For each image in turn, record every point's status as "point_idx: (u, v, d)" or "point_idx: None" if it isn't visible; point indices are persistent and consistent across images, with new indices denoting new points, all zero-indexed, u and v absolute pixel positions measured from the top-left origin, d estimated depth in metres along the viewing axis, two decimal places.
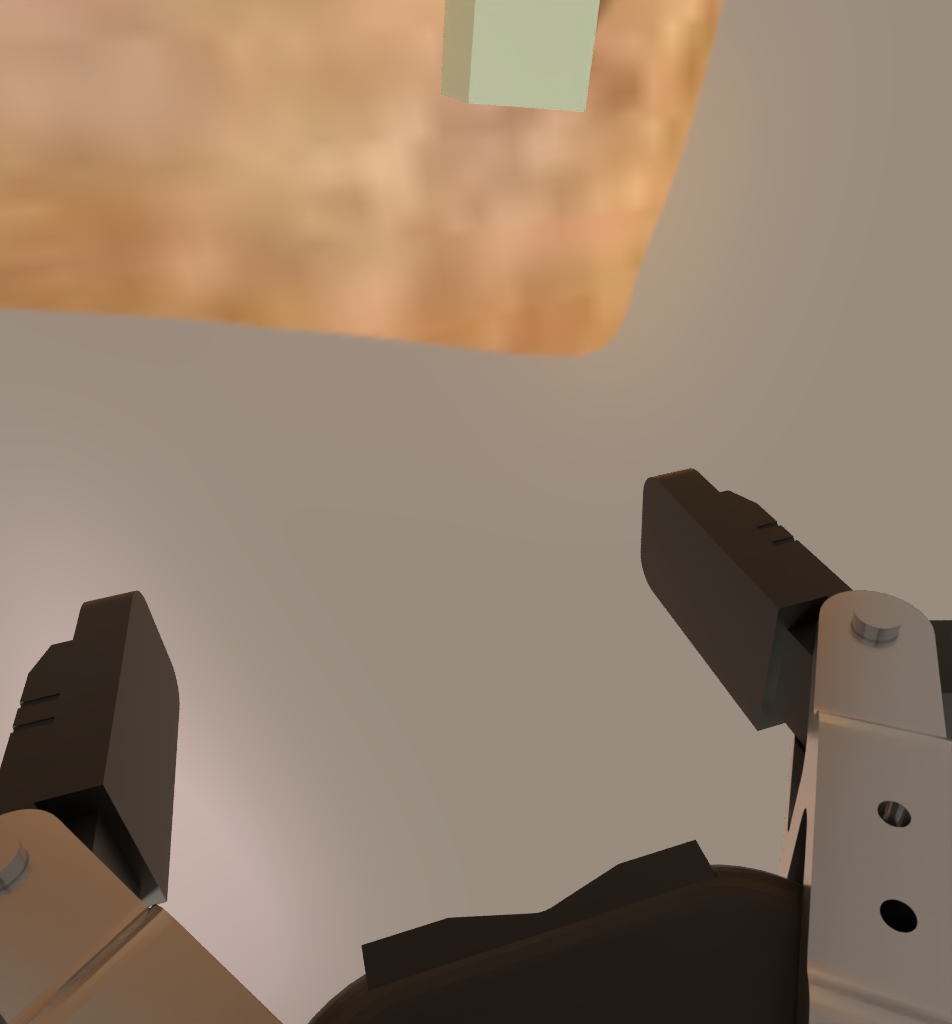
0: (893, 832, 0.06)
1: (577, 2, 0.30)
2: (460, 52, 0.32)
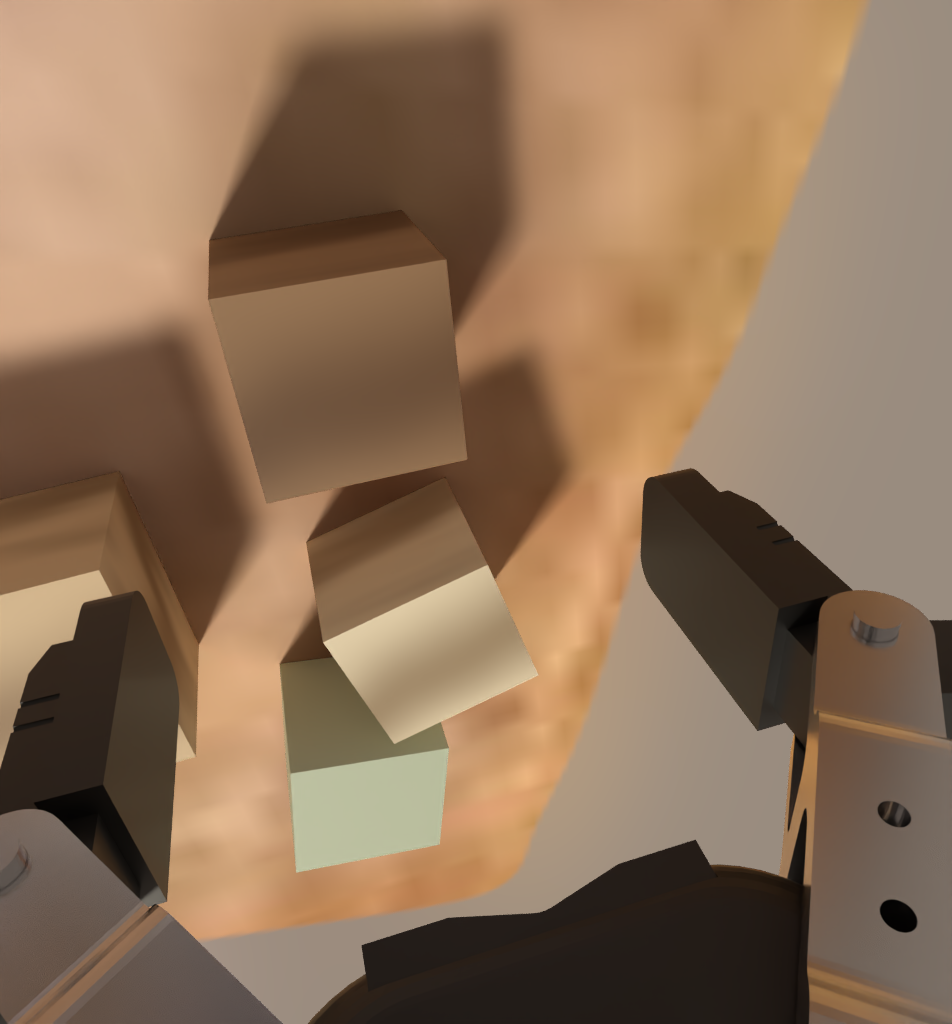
0: (893, 833, 0.06)
1: (419, 779, 0.26)
2: None
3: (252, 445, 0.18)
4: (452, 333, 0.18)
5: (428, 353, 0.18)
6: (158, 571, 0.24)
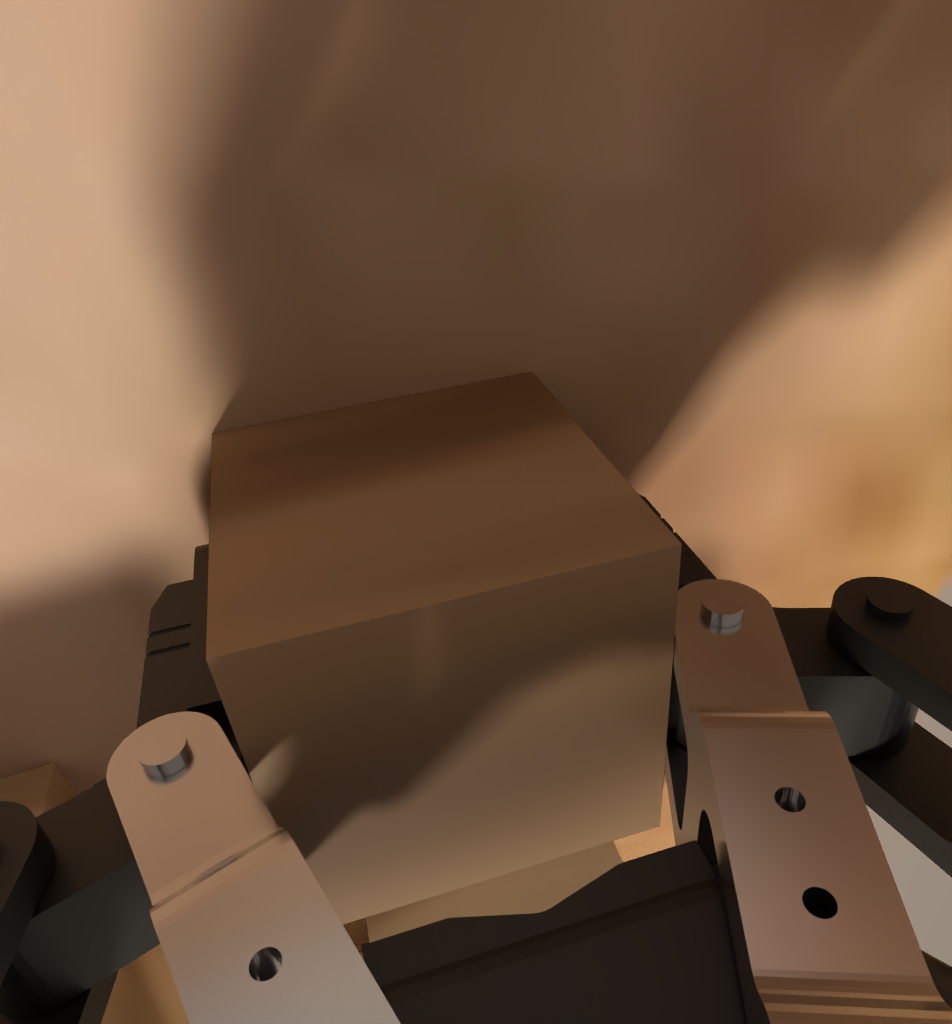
0: (792, 818, 0.07)
1: None
2: None
3: None
4: (670, 657, 0.09)
5: (623, 691, 0.09)
6: None
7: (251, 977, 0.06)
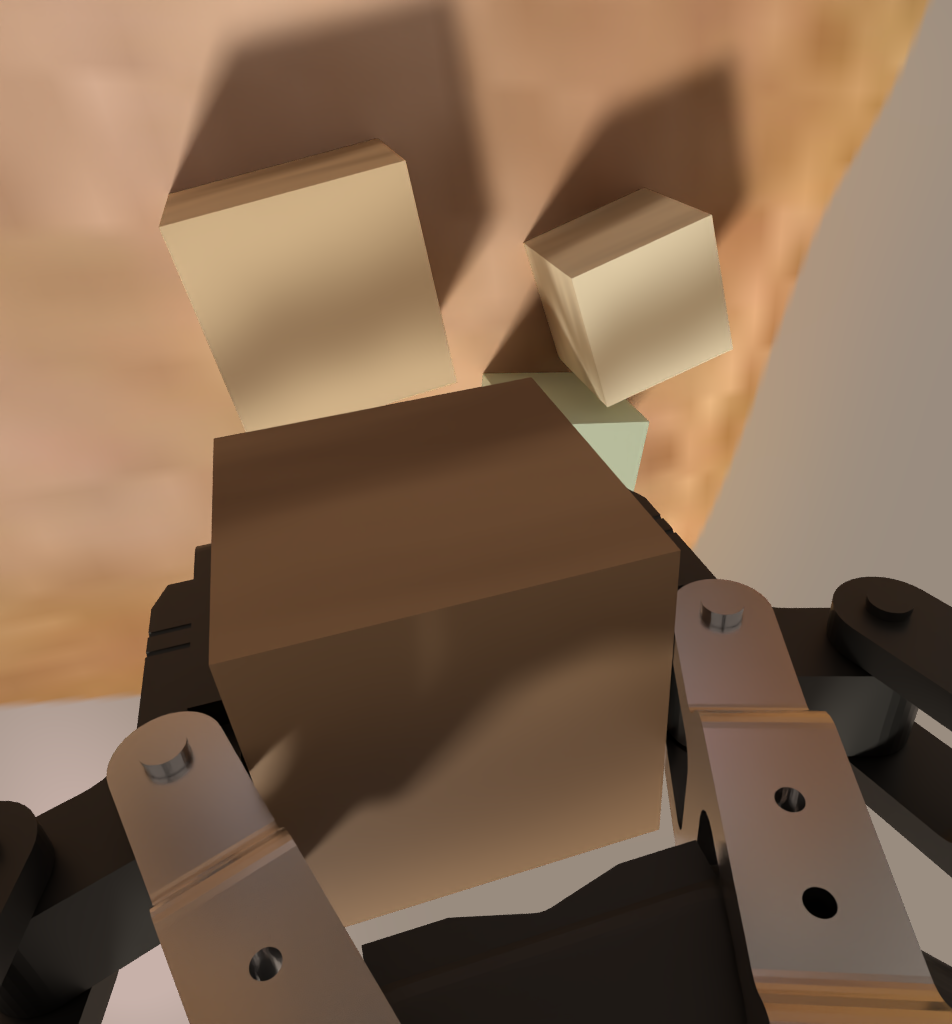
0: (792, 818, 0.07)
1: (620, 453, 0.29)
2: None
3: None
4: (669, 662, 0.09)
5: (622, 696, 0.09)
6: None
7: (251, 977, 0.06)
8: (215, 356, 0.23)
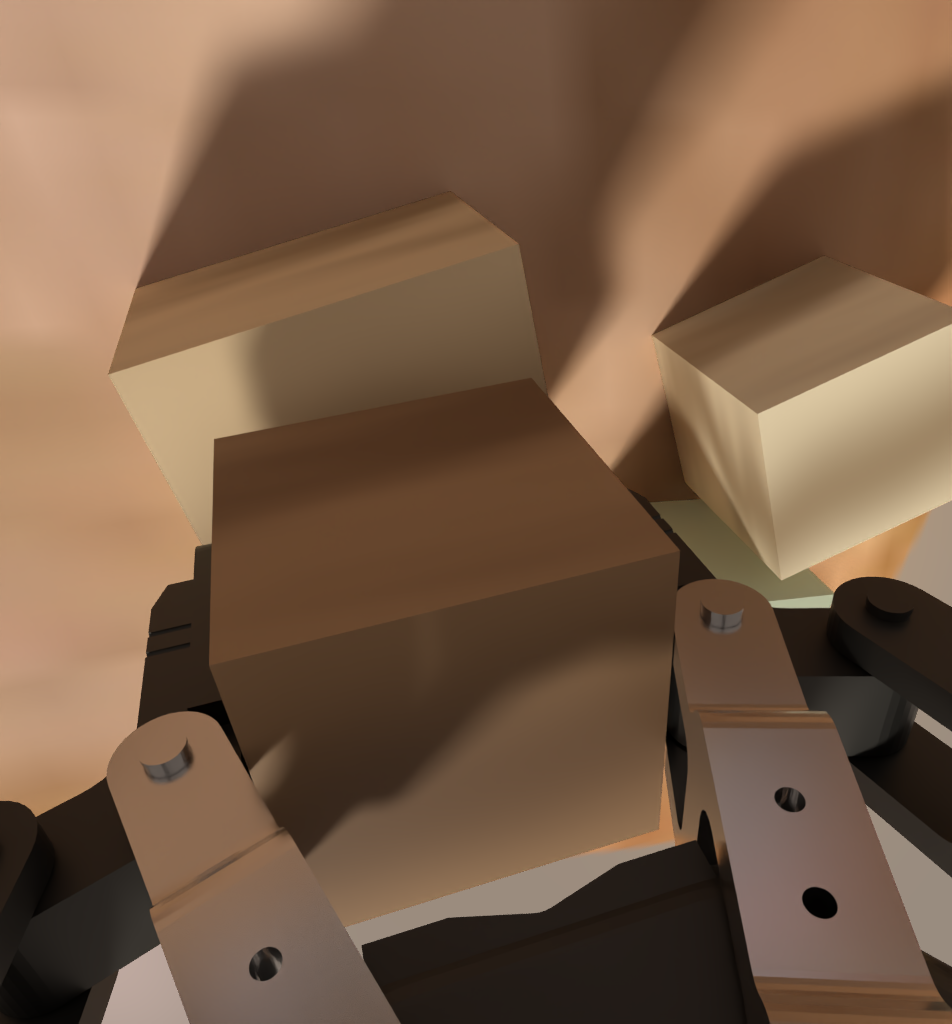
0: (793, 818, 0.07)
1: None
2: None
3: None
4: (669, 662, 0.09)
5: (622, 694, 0.09)
6: None
7: (252, 977, 0.06)
8: None
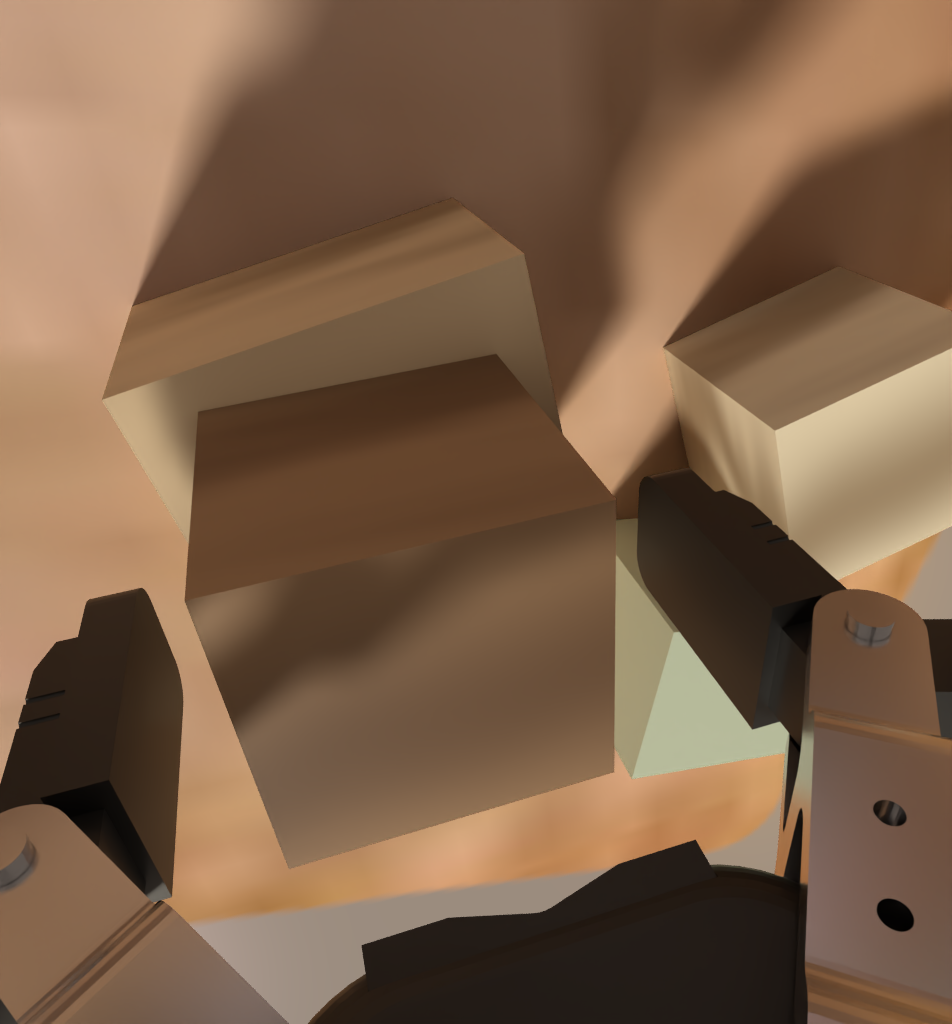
0: (888, 832, 0.06)
1: None
2: (616, 684, 0.21)
3: (266, 799, 0.10)
4: (612, 607, 0.10)
5: (571, 639, 0.10)
6: None
7: None
8: None
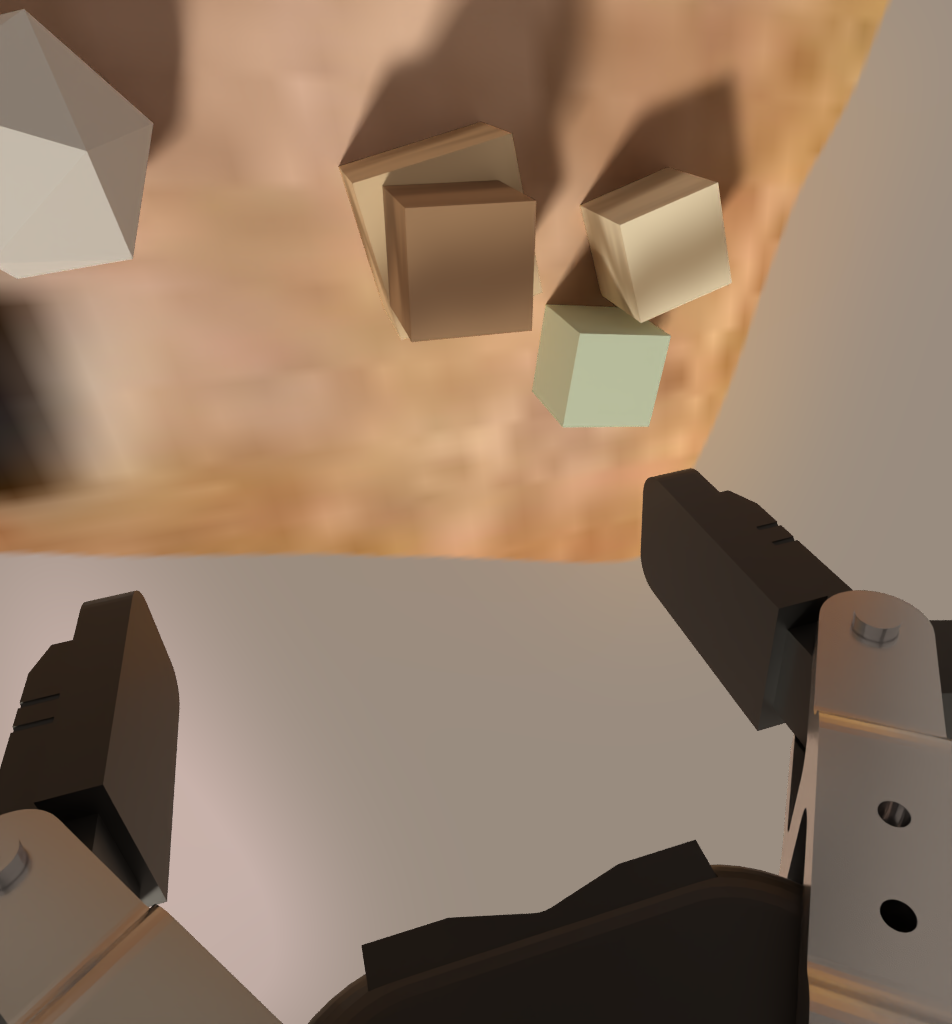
0: (892, 833, 0.06)
1: (649, 359, 0.40)
2: (556, 383, 0.41)
3: (411, 301, 0.30)
4: (533, 246, 0.30)
5: (518, 257, 0.30)
6: None
7: None
8: (381, 274, 0.34)
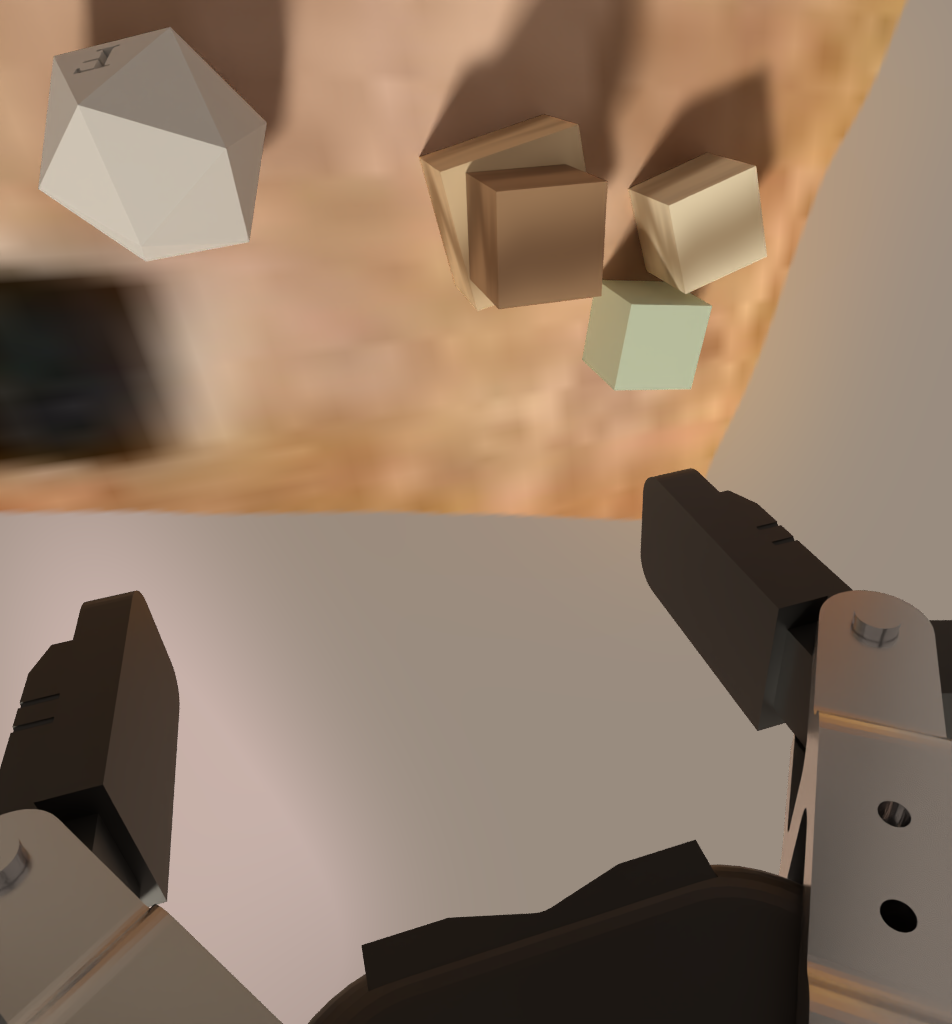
0: (893, 833, 0.06)
1: (692, 328, 0.44)
2: (607, 351, 0.45)
3: (499, 273, 0.34)
4: (604, 221, 0.34)
5: (591, 231, 0.34)
6: None
7: None
8: (462, 252, 0.38)
